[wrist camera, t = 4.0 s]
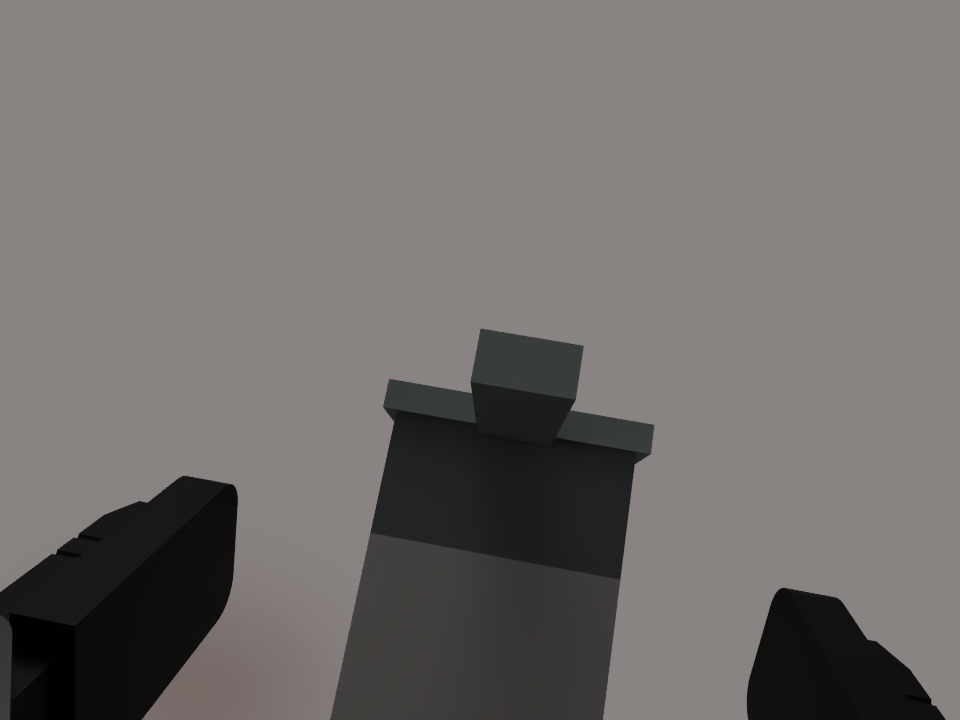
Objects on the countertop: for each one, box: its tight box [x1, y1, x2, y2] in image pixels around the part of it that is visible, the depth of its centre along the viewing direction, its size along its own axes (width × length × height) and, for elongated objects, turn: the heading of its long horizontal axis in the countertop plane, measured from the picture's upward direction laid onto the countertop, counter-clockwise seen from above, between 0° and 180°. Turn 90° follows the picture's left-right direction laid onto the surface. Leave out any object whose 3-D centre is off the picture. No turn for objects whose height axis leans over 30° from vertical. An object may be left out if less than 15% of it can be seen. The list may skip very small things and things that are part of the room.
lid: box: [383, 329, 654, 464], centre depth 30 cm, size 20×11×2 cm, turn 179°
